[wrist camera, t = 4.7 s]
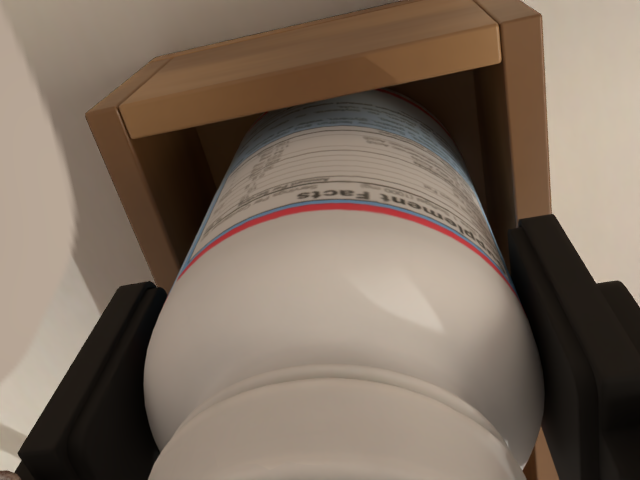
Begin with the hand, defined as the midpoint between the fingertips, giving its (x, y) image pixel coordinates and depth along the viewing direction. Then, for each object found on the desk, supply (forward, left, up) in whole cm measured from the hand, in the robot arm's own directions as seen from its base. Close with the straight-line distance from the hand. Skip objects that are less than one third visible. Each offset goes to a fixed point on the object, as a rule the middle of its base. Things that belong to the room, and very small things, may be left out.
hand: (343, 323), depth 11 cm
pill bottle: (0, 0, -6) cm, 6 cm away
